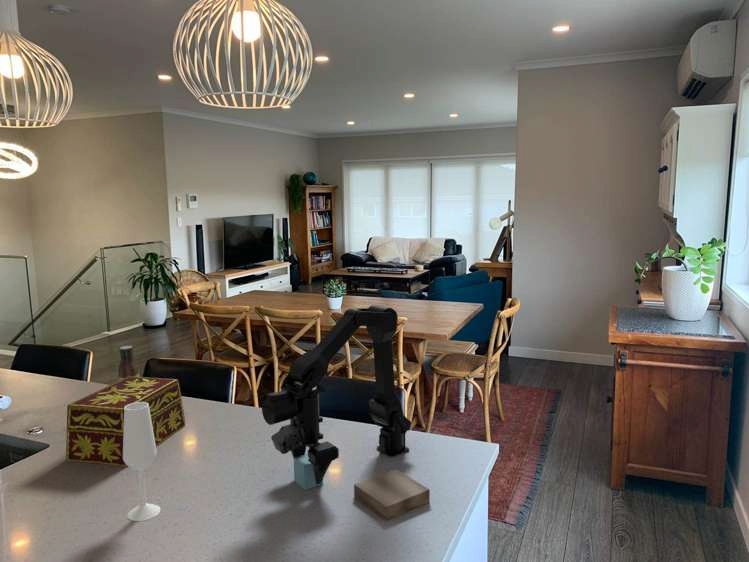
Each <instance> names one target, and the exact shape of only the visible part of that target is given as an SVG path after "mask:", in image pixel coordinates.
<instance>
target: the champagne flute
mask: <svg viewBox="0 0 749 562" xmlns="http://www.w3.org/2000/svg"><path fill="white" fill-rule="evenodd" d="M157 451H158V450H157V447H156V444H155V438H154V433H153V427H152V421H151V415H150V409H149V404H148V403H146V402H136V403H131V404H128V405H126V406H125V407H124V436H123V461H124V462H125V463H126V465H128V467H129V468H130V469H131V470H134V471H136V472H138V473H137V474H138V475H137V476H138V487H139V502H140V504H139V505H137V506H136V507H134V508H132V509H130V510H129V512H128V513H127V515H126V516H127V519H128V520H131V521H133V522H141V521H148V520H149V519H153V518H155V517H156V516H157V515H159V514H160V512H161V507H160V506H159V505H157V504H153V503H147V495H146V477H145V470H146V469H148V468H149V466H150V465H152V464H153V462H154V460H155V459H156V457H157V455H158V452H157Z"/></svg>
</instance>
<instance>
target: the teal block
mask: <svg viewBox="0 0 749 562" xmlns="http://www.w3.org/2000/svg"><path fill="white" fill-rule="evenodd" d="M308 460H309V457H308V453H305V455H302V456H299V457H296V458H294V459H293V477H294V479H293V480H294V483H295V484H297V486H299V487H300V488H301V489H303V490H304V491H306V490H308V489H312V488H314V487H318V486H321V485H323V484H324V479H323V480H322V482H321V483H320V484H318V485H317V484H316V481H315V475H314V468H313V464H312V463H310V462H309V461H308Z"/></svg>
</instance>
